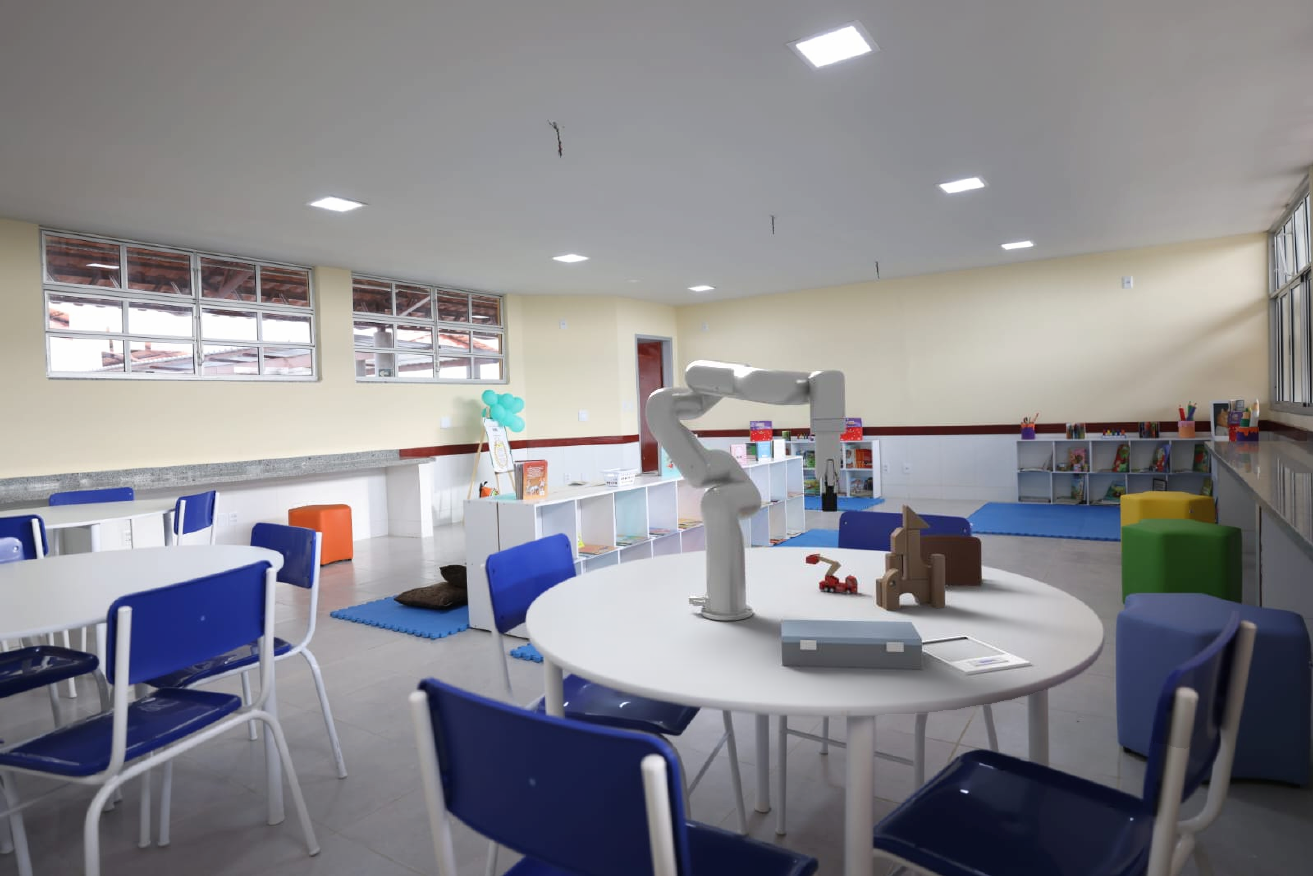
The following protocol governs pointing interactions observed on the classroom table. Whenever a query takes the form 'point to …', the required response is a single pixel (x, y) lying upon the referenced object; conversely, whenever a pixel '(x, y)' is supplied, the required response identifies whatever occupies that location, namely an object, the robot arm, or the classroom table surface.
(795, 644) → the cable duct
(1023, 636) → the classroom table surface
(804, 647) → the duct cover
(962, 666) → the photo frame
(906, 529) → the wooden toy
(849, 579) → the toy fire truck
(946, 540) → the letter holder
